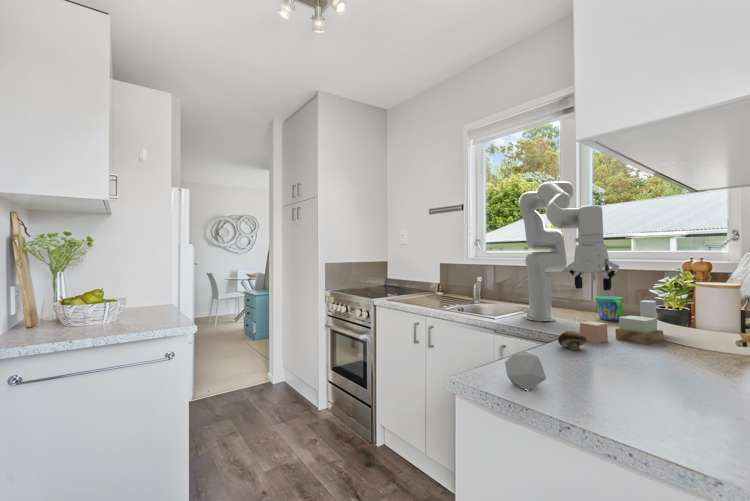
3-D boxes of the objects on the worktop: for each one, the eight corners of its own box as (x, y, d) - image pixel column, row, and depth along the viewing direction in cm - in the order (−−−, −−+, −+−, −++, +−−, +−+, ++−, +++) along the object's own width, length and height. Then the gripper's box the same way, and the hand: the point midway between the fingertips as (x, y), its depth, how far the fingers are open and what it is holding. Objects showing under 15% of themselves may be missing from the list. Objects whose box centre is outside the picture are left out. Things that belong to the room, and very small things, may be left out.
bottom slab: (615, 340, 124) (615, 328, 124) (630, 336, 128) (630, 325, 128) (648, 346, 115) (648, 334, 115) (663, 342, 120) (662, 330, 120)
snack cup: (632, 322, 151) (631, 299, 151) (606, 322, 152) (605, 299, 152) (612, 316, 166) (612, 295, 166) (589, 316, 168) (588, 295, 168)
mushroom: (584, 343, 105) (578, 324, 109) (557, 350, 110) (552, 331, 113) (593, 352, 110) (586, 333, 114) (567, 358, 114) (561, 339, 118)
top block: (619, 328, 124) (618, 317, 124) (631, 326, 127) (630, 315, 127) (645, 333, 116) (645, 321, 117) (657, 330, 120) (656, 318, 120)
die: (555, 395, 77) (547, 353, 83) (535, 383, 73) (528, 339, 79) (520, 399, 82) (516, 359, 88) (500, 388, 78) (496, 347, 84)
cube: (580, 339, 124) (579, 322, 124) (590, 337, 127) (589, 320, 127) (597, 343, 118) (597, 325, 119) (607, 340, 121) (607, 323, 121)
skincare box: (655, 335, 127) (654, 302, 127) (640, 333, 130) (639, 301, 131) (658, 332, 131) (657, 300, 132) (643, 331, 135) (642, 299, 135)
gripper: (561, 241, 129) (562, 288, 129) (611, 239, 114) (613, 291, 113) (573, 242, 133) (575, 287, 132) (623, 239, 117) (625, 290, 117)
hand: (592, 289), depth 123 cm, fingers open, 9 cm apart
